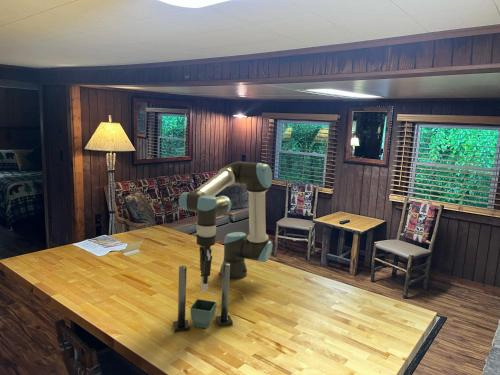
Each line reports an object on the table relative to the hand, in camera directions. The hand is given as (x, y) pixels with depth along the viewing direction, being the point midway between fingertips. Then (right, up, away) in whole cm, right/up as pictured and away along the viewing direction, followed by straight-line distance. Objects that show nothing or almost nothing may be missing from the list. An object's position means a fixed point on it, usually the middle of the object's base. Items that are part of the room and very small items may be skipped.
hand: (204, 289), depth 159 cm
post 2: (+8, -15, +5) cm, 18 cm away
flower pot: (-1, -15, +3) cm, 16 cm away
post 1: (-9, -15, 0) cm, 18 cm away
